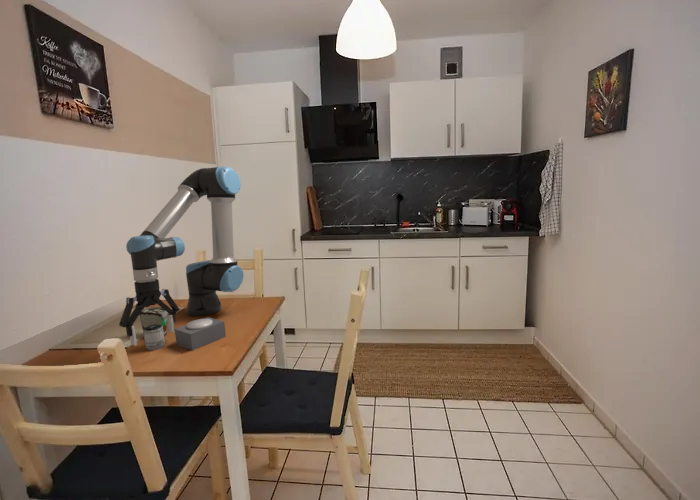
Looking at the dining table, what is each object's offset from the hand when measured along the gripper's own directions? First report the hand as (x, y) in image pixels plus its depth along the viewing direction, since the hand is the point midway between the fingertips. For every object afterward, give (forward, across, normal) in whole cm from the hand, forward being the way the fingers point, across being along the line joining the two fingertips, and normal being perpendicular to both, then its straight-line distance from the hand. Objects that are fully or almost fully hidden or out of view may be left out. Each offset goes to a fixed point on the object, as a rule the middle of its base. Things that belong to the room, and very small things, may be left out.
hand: (153, 337), depth 135 cm
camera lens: (+4, 0, 0) cm, 4 cm away
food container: (+4, +8, +12) cm, 15 cm away
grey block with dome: (+4, +12, -10) cm, 16 cm away
